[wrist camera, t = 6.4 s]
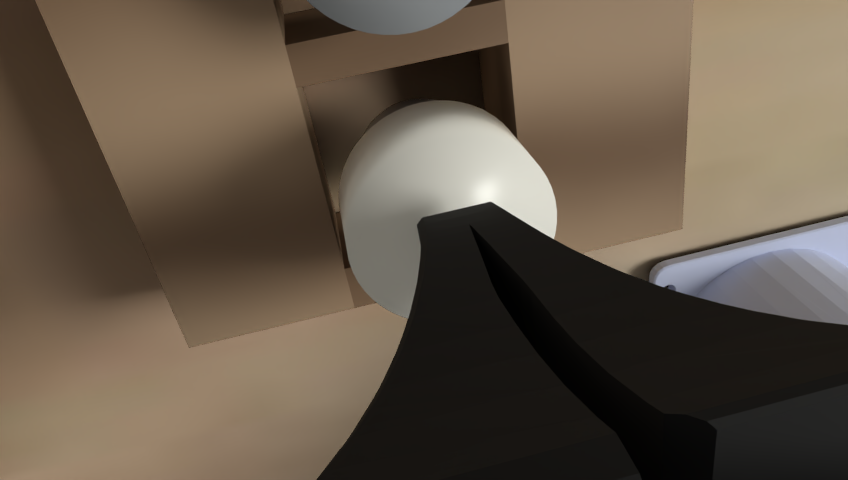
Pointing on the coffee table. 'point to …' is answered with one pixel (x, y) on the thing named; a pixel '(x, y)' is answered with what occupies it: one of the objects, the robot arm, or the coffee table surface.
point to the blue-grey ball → (389, 14)
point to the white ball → (429, 187)
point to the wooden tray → (298, 149)
